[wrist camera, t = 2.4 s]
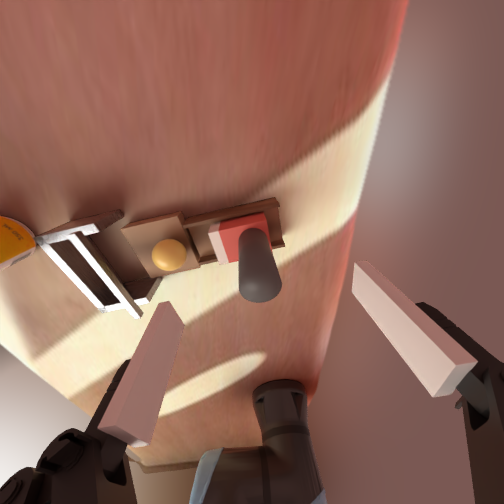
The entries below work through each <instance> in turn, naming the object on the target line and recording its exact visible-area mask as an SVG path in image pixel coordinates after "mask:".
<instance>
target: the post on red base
mask: <svg viewBox="0 0 504 504" xmlns="http://www.w3.org/2000/svg"><path fill="white" fill-rule="evenodd" d="M208 235H209V238H210V240H211V243H212V246H213V248H214V251H215V254H216V256H217V259H218V262H219V265H222V264H226V263H231V262H235V261H239V291H240V294H241V295H242V296H243V297H244V298H245V299H246V300H248V301H251V302H256V303H261V302H266V301H269V300H271V299H273V298H274V297H276V296H277V295H278V294H279V292H280V290H281V287H282V282H281V279H280V276H279V272H278V269H277V266H276V263H275V260H274V257H273V254H272V247H271V242H270V236H269V231H268V225H267V220H266V217H265V215H264V212H260V213H255V214H251V215H247V216H242V217H238V218H234V219H229V220H225V221H220V222H216V223H212V224H211V226H210V229H209V232H208Z"/></svg>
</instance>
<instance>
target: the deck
mask: <svg viewBox="0 0 504 504" xmlns="http://www.w3.org/2000/svg"><path fill="white" fill-rule="evenodd" d="M184 222H185V218H184V216H183V213H182V211H180V212H176V213H172V214H167V215H163V216H159V217H155V218H150V219H146V220H142V221H137V222H133V223H129V224H127V225H126V226H124V227H123V228H121V229H120V230H121V232H122V233H123V235H124V236H125V238H126V240H127V241H128V243H129V244H130V246H131V247H132V249H133V251H134V252H135V254H136V255H137V257H138V258H139V260H140V262H141V263H142V265H143V266H144V268H145V270H146V271H147V273H148V274H149V276H150V277H151V278H155V277H159V276H164V275H169V274H173V273H178V272H182V271H187V270H191V269H196V268H200V266H201V265H199V260H200V255H199V252H198V250H197V248H196V245H195V243H194V241H193V238H192V236H191V234H190V231H189V229H188V228H184V229H183V226H182V225H183V224H184ZM165 239H174V240H177V241H179V242H180V243H181V244H183V246H184V247H185V249H186V252H187V258H186V261H185V263H184V264H183V265H182V266H181V267H180V268H178V269H176V270H173V271H165V270H162V269H160V268H158V267H157V266H156V265H155V264H154V262H153V260H152V251H153V248H154V247H155V245H156V244H157V243H158V242H160V241H162V240H165Z"/></svg>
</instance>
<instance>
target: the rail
mask: <svg viewBox="0 0 504 504" xmlns="http://www.w3.org/2000/svg"><path fill="white" fill-rule="evenodd" d="M278 207H280V205H279V202H278V201H277V200H276V198H275V197H274V198H269V199H265V200H261V201H256V202H252V203H248V204H244V205H239V206H235V207H231V208H226V209H222V210H218V211H213V212H209V213H205V214H200V215H196V216H192V217H188V218H187V220H186V221H185V222H184V224H183V225H182V226H183V229H184V228H188V229H189V231H190V234H191V236H192V238H193V241H194V243H195V245H196V248H197V250H198V252H199V255H200V260H199V265H203V264H208V263H212V262H217V261H218V259H217V256H216V254H215V251H214V248H213V246H212V243H211V240H210V238H209V235H208V232H209V229H210V226H211V224H212V223H216V222H220V221H225V220H229V219H234V218H238V217H242V216H247V215H251V214H255V213H260V212H264V215H265V217H266V220H267V225H268V231H269V236H270V242H271V247H272V249H276V248H281V247H285V243H284V241H283V239H282V233H281V226H280V219H279V211H278Z"/></svg>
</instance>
